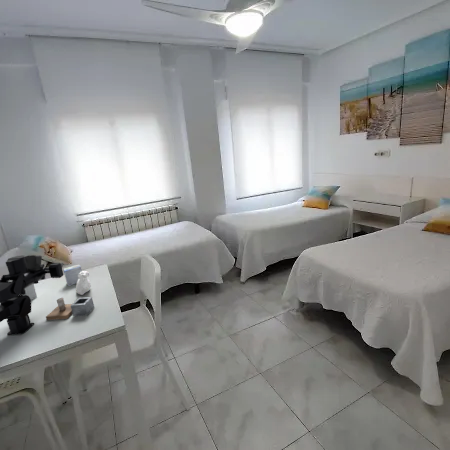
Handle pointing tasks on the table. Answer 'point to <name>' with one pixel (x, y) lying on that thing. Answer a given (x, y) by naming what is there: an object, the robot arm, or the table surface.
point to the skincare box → (31, 291)
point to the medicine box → (72, 274)
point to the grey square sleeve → (82, 306)
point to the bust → (83, 283)
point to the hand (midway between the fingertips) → (53, 264)
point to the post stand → (60, 311)
